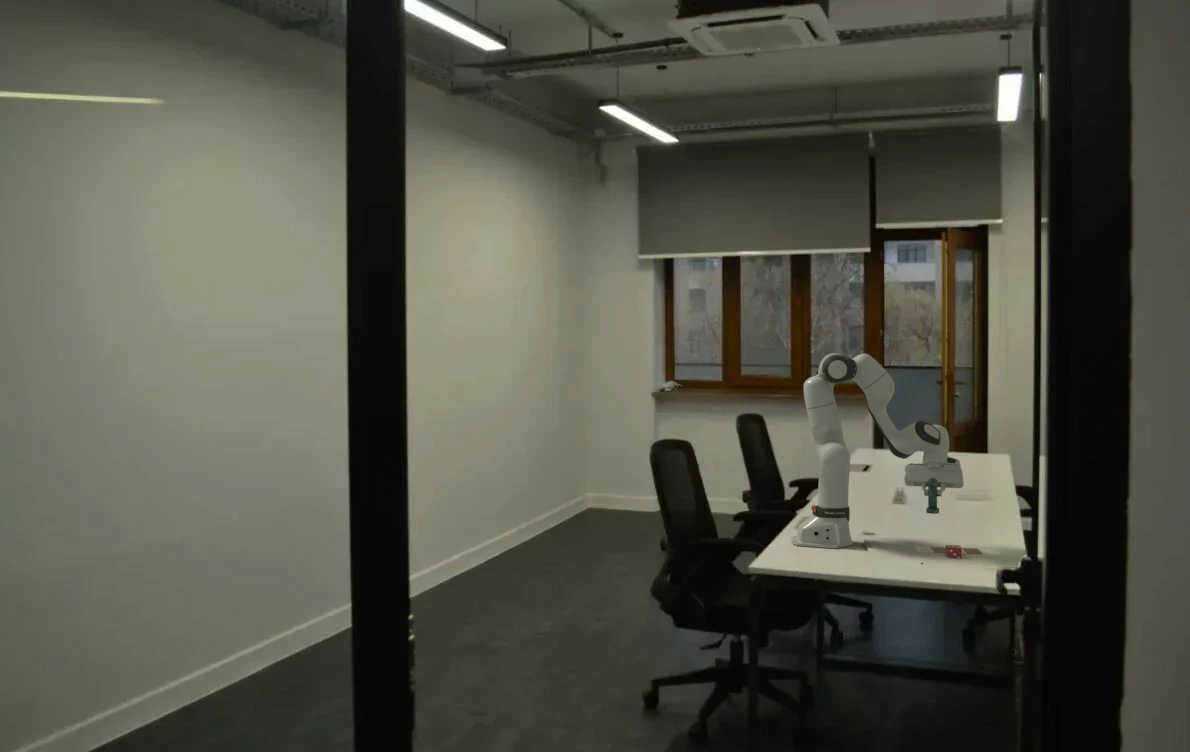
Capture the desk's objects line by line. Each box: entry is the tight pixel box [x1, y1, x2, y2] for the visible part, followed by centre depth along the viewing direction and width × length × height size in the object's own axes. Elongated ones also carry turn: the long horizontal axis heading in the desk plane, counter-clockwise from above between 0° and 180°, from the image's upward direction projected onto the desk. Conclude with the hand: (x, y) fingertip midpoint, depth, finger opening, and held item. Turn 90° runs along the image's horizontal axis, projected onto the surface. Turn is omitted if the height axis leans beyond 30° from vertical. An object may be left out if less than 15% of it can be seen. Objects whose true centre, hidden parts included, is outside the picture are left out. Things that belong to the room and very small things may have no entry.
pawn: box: [925, 478, 940, 515], centre depth 345 cm, size 4×4×12 cm
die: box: [945, 544, 963, 559], centre depth 335 cm, size 4×5×5 cm
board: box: [914, 545, 984, 555], centre depth 345 cm, size 23×10×1 cm, turn 80°
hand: (932, 495), depth 344 cm, fingers closed on pawn, 3 cm apart
